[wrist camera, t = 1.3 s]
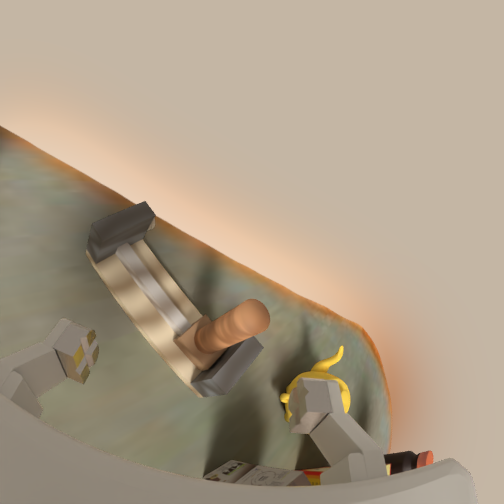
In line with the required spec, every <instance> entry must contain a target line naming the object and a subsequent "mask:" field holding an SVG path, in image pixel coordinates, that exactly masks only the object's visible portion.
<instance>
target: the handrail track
mask: <svg viewBox="0 0 504 504" xmlns="http://www.w3.org/2000/svg"><path fill="white" fill-rule="evenodd" d="M155 216H156V215H155V214H154V212H153V211H152V210H151V208H150V207H149V206H148V204H147V203H146V201H145V202H142V203H139V204H137V205H134V206H132V207H129V208H127V209H124V210H122V211H120V212H117V213H115V214H113V215H110V216H108V217H106V218H103V219H101V220H99V221H97V222H95V223H92V226H91V231H90V235H89V240H88V244H87V249H86V255H87V257H88V258H89V260H90V262H91V263H92V265H93V266H94V268H95V270H96V271H97V273H98V274H99V276H100V277H101V279H102V280H103V282H104V283H105V285H106V286H107V288H108V289H109V291H110V292H111V293H112V295H113V296H114V298H115V299H116V300H117V302H118V303H119V305H120V306H121V307H122V309H123V310H124V311H125V313H126V314H127V315H128V317H129V318H130V319H131V321H132V322H133V323H134V325H135V326H136V327H137V328H138V330H139V331H140V332H141V333H142V335H143V336H144V337H145V338H146V340H147V341H148V342H149V343H150V344H151V346H152V347H153V348H154V349H155V350H156V352H157V353H158V354H159V355H160V356H161V357H162V359H163V360H164V361H165V362H166V363H167V364H168V365H169V366H170V368H171V369H172V370H173V371H174V372H175V373H176V374H177V375H178V376H179V377H180V378H181V379H182V381H183V382H184V383H185V384H186V385H187V386H188V387H189V388H190V389H191V390H192V391H193V392H194V393H195V394H196V395H197V396H198V397H199V398H200V397H209V396H217V395H224V394H227V393H228V392H229V391H230V390H231V389H232V387H233V386H234V385H235V384H236V382H237V381H238V380H239V379H240V378H241V376H242V375H243V374H244V372H245V371H246V370H247V369H248V367H249V366H250V365H251V364H252V362H253V361H254V360H255V358H256V357H257V356H258V355H259V353H260V352H261V351H262V349H263V348H264V347H263V346H262V345H261V344H260V343H259V342H258V340H257V339H256V338H255V337H254V336H252V337H250V338H248V339H245V340H243V341H241V342H238V343H236V344H234V345H231V346H229V347H228V348H227V349H226V350H225V351H224V352H223V354H222V355H221V356H220V357H219V358H218V359H217V360H216V361H215V362H214V363H213V364H212V365H211V367H210V368H209V369H207V370H204V371H202V370H198V369H197V367H196V366H195V365H194V364H193V363H192V362H191V361H190V360H189V359H188V358H187V356H186V355H185V354H184V353H183V352H182V351H181V350H180V349H179V347H178V346H177V345H176V344H175V343H174V342H173V341H174V340H175V339H176V338H177V337H178V336H180V335H182V334H183V333H184V332H185V331H186V330H187V329H188V328H190V327H191V326H192V324H193V323H194V322H196V321H197V320H199V319H200V318H201V317H202V315H201V314H200V312H199V311H198V310H197V309H196V308H195V306H194V305H193V304H192V303H191V302H190V300H189V299H188V298H187V297H186V295H185V294H184V293H183V292H182V290H181V289H180V288H179V287H178V285H177V284H176V283H175V282H174V280H173V279H172V278H171V276H170V275H169V274H168V273H167V271H166V270H165V269H164V267H163V266H162V265H161V263H160V262H159V261H158V259H157V258H156V257H155V255H154V254H153V253H152V251H151V250H150V249H149V247H148V246H147V245H146V243H145V242H144V240H143V237H144V235H145V234H146V232H147V231H149V230H151V229H153V228H154V226H155V218H154V217H155Z"/></svg>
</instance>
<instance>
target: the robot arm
mask: <svg viewBox="0 0 504 504" xmlns="http://www.w3.org/2000/svg"><path fill="white" fill-rule="evenodd" d="M95 337H96V334H95V331H94V330H92V329H89V328H87V327H84V326H82V325H80V324H77V323H75V322H73V321H70V320H68V319H65V318H62V319H61V320H60V321H59V322H58V323H57V324H56V326H55V327H54V328H53V330H52V331H51V332H50V334H49V335H48V336H47V338H46V339H45V340H44V342H43V343H41V342H39V343H36V344H34V345H32V346H29V347H27V348H25V349H22V350H20V351H18V352H15V353H13V354H11V355H8V356H6V357H4V358H1V359H0V504H478V501H477V496H476V490H475V485H474V481H473V478H472V476H471V474H470V472H469V471H467V469H466V468H464V467H463V466H462V465H461V464H460V463H459V462H457V461H456V460H454V459H452V458H448V459H444V460H441V461H439V462H436V463H433V464H430V465H426V466H423V467H420V468H416V469H413V470H409V471H405V472H401V473H397V474H393V475H389V476H388V474H387V469H386V464H385V459H384V455H383V451H382V449H381V448H380V446H379V445H378V444H377V443H376V442H375V441H374V440H373V439H372V438H371V437H370V436H369V435H368V434H367V433H366V432H365V431H364V430H363V429H362V428H361V427H360V426H359V425H358V423H357V422H356V421H355V420H354V419H353V418H352V417H351V416H350V415H349V414H348V413H345V411H344V406H343V402H342V397H341V393H340V388H339V384H338V382H337V380H324V379H315V378H303V377H301V378H299V380H298V381H297V387H295V388H293V389H292V391H291V393H290V396H289V401H288V410H289V411H290V412H291V413H292V415H291V417H290V418H289V429H290V433H304V434H309V435H310V437H311V438H312V439H313V441H314V442H315V444H316V445H317V447H318V448H319V450H320V451H321V453H322V454H323V456H324V457H325V458H326V460H327V461H328V463H329V464H330V466H331V467H330V468H329V469H327V470H326V471H324V472H323V473H321V474H320V482H321V485H317V486H257V485H244V484H234V483H225V482H218V481H211V480H205V479H199V478H194V477H189V476H184V475H179V474H175V473H171V472H167V471H163V470H159V469H155V468H152V467H148V466H145V465H142V464H138V463H135V462H132V461H129V460H126V459H124V458H121V457H118V456H115V455H113V454H110V453H107V452H105V451H102V450H100V449H98V448H95V447H93V446H91V445H88V444H86V443H84V442H82V441H80V440H77V439H75V438H73V437H71V436H69V435H67V434H65V433H63V432H62V431H60V430H58V429H56V428H54V427H52V426H50V425H49V424H47V423H45V422H43V421H42V420H40V419H39V417H40V415H41V413H42V411H43V408H42V406H41V404H40V403H39V401H38V400H37V399H36V398H38V397H39V396H41V395H43V394H44V393H46V392H47V391H49V390H50V389H52V388H53V387H55V386H56V385H58V384H59V383H61V382H63V381H64V380H66V379H67V378H70V379H72V380H74V381H77V382H79V383H81V384H84V383H85V381H86V379H87V377H88V376H89V374H90V370H89V367H91V366H93V365H94V364H95V362H96V360H97V358H98V354H99V347H98V343H97V342H96V341H95V340H94V339H95Z"/></svg>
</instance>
